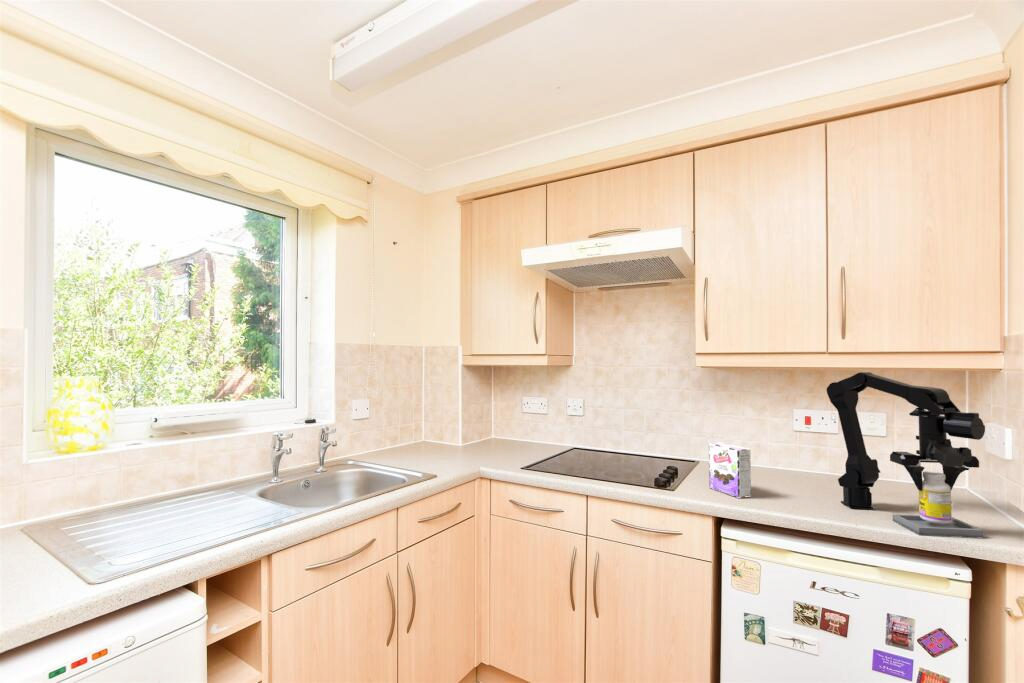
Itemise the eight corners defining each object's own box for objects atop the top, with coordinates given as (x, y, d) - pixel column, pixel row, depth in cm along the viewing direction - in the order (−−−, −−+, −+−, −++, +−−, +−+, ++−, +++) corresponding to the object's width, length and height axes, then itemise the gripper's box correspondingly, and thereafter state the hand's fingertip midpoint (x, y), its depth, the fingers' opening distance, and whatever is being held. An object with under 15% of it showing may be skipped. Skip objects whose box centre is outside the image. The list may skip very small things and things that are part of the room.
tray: (919, 535, 126) (919, 527, 126) (892, 521, 137) (892, 514, 137) (983, 538, 124) (983, 530, 124) (951, 523, 135) (951, 516, 135)
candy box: (708, 488, 172) (707, 442, 173) (721, 486, 175) (720, 441, 175) (738, 498, 160) (737, 449, 160) (752, 497, 162) (751, 448, 162)
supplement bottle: (919, 514, 135) (917, 469, 136) (950, 519, 131) (949, 472, 132) (919, 521, 130) (918, 473, 131) (952, 526, 126) (951, 477, 126)
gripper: (914, 438, 125) (916, 498, 124) (996, 439, 122) (998, 501, 122) (888, 431, 136) (889, 486, 135) (962, 432, 133) (963, 489, 133)
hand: (934, 490), depth 131 cm, fingers closed on supplement bottle, 7 cm apart
